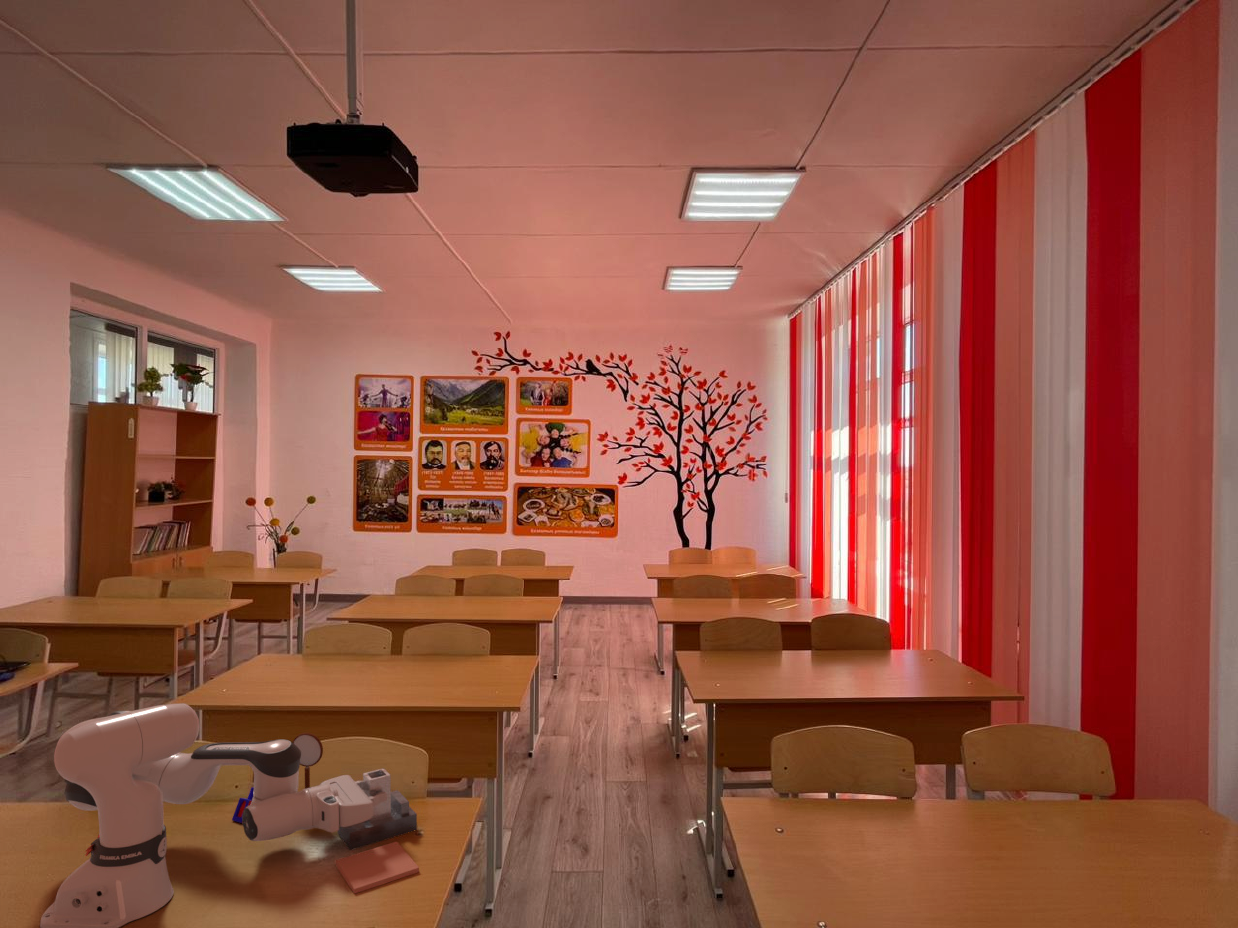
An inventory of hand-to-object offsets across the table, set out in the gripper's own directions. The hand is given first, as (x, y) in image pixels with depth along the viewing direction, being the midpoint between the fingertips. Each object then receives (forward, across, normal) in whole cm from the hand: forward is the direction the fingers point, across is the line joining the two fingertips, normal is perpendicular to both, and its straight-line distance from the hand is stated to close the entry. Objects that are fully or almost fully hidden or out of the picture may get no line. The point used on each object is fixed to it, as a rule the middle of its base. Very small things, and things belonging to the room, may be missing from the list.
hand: (380, 789), depth 186 cm
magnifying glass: (-12, -22, -10) cm, 27 cm away
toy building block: (-25, -27, -10) cm, 38 cm away
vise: (-1, 0, -10) cm, 10 cm away
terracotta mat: (-6, +16, -10) cm, 20 cm away
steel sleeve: (-1, 0, -6) cm, 6 cm away
